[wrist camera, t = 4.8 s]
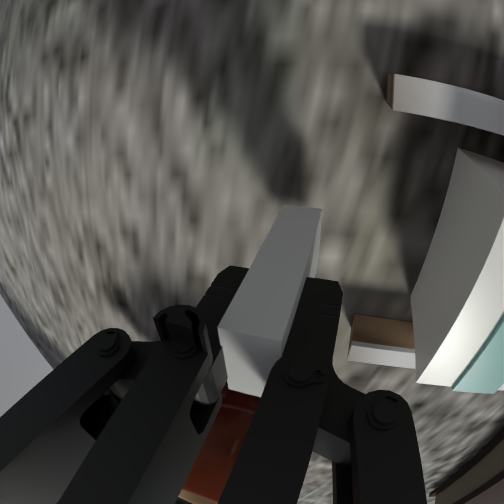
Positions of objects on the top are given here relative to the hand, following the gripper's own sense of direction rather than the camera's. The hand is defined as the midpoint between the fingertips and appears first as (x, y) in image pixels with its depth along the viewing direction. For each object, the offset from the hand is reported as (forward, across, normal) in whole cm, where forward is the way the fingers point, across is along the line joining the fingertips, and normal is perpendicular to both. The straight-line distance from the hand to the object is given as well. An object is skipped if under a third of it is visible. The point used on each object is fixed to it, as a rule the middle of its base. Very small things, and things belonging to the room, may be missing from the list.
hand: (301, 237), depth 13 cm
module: (+2, +9, 0) cm, 9 cm away
